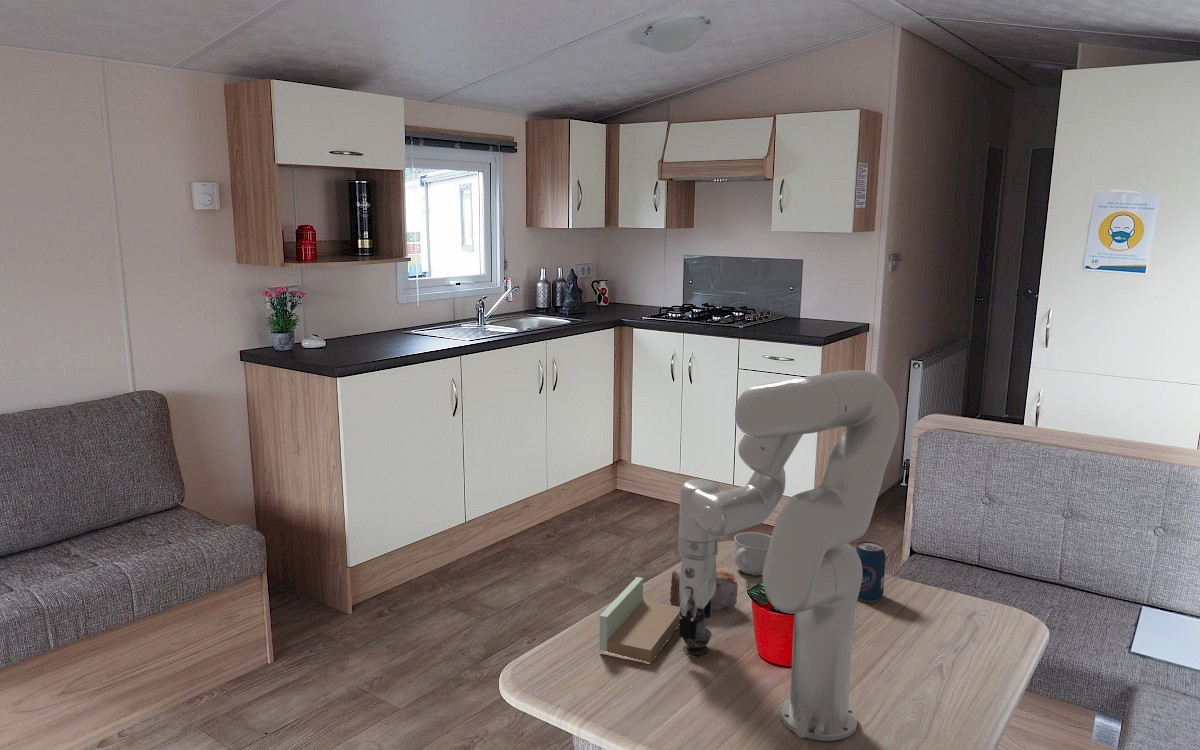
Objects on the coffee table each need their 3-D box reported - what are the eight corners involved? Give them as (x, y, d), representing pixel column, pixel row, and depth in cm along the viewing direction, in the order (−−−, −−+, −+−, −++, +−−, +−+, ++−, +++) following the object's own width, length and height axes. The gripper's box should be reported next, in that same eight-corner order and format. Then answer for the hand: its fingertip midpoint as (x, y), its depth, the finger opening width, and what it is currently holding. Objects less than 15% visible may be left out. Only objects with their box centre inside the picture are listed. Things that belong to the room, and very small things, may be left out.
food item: (726, 597, 193) (727, 555, 191) (739, 612, 185) (740, 569, 183) (667, 602, 190) (668, 560, 188) (678, 618, 182) (679, 574, 180)
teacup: (752, 558, 215) (753, 528, 213) (787, 572, 206) (789, 540, 205) (714, 572, 206) (715, 541, 204) (749, 587, 198) (751, 554, 196)
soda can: (846, 597, 192) (848, 546, 190) (857, 587, 198) (860, 538, 196) (876, 606, 188) (879, 554, 186) (887, 595, 194) (890, 544, 192)
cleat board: (650, 664, 163) (651, 625, 161) (599, 653, 167) (599, 615, 166) (682, 620, 181) (683, 585, 180) (636, 611, 185) (636, 576, 184)
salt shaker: (687, 659, 165) (688, 600, 163) (676, 645, 171) (677, 588, 168) (715, 655, 167) (717, 597, 164) (704, 641, 172) (705, 585, 170)
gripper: (704, 564, 156) (700, 651, 159) (728, 532, 171) (725, 612, 174) (664, 557, 158) (662, 642, 162) (692, 526, 174) (689, 605, 177)
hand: (695, 626), depth 168 cm, fingers open, 9 cm apart
